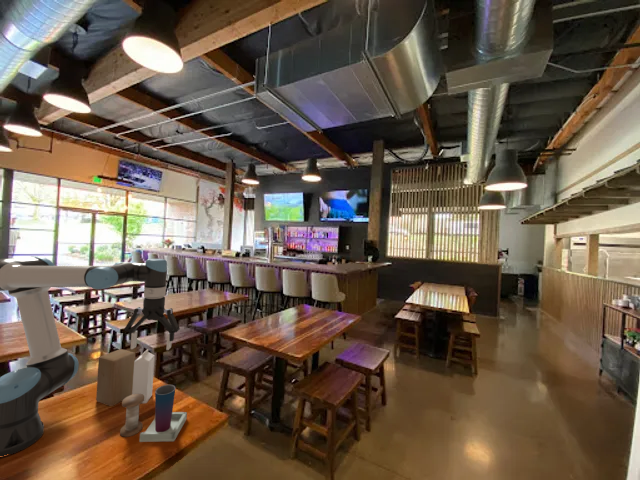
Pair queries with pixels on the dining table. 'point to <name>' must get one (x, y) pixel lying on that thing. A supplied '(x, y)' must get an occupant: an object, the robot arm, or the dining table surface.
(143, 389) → the milk
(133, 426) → the doorknob
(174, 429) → the square tray
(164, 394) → the cup
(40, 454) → the dining table surface
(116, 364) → the wooden block
